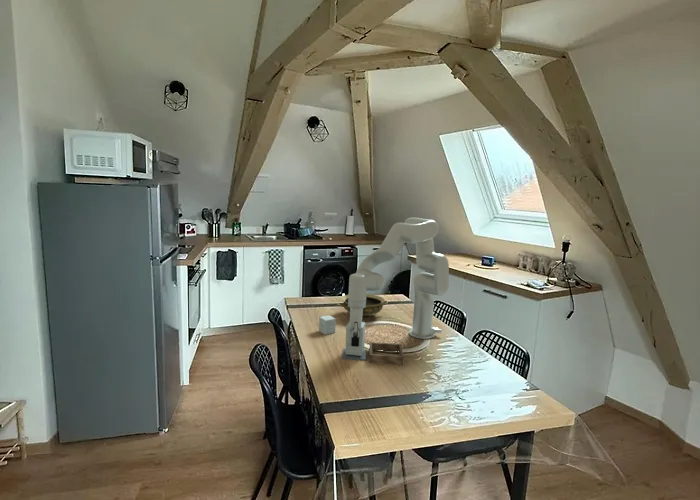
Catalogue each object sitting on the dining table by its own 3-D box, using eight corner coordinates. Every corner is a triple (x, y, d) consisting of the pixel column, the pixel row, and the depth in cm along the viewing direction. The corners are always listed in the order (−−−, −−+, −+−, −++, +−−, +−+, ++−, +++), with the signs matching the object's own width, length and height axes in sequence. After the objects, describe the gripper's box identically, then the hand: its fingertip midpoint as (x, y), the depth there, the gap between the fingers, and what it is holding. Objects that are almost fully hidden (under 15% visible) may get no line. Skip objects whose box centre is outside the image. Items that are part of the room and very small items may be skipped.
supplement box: (364, 349, 184) (366, 322, 182) (361, 356, 177) (363, 327, 174) (348, 347, 185) (349, 320, 183) (344, 354, 178) (345, 325, 176)
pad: (366, 351, 186) (366, 349, 186) (365, 360, 176) (365, 359, 176) (343, 349, 186) (343, 348, 186) (342, 359, 176) (342, 357, 176)
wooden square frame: (400, 351, 187) (401, 344, 186) (403, 365, 173) (403, 357, 173) (369, 349, 188) (369, 342, 187) (369, 362, 174) (369, 354, 173)
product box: (329, 329, 211) (329, 315, 210) (335, 332, 206) (336, 318, 205) (318, 330, 208) (319, 316, 207) (324, 334, 203) (325, 320, 202)
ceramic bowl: (380, 308, 250) (381, 292, 248) (395, 321, 227) (396, 303, 225) (331, 310, 241) (331, 293, 239) (342, 324, 218) (342, 306, 217)
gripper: (349, 296, 186) (347, 334, 189) (347, 308, 169) (345, 349, 172) (366, 297, 186) (364, 335, 189) (365, 309, 168) (363, 350, 171)
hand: (355, 342), depth 180 cm, fingers closed on supplement box, 7 cm apart
